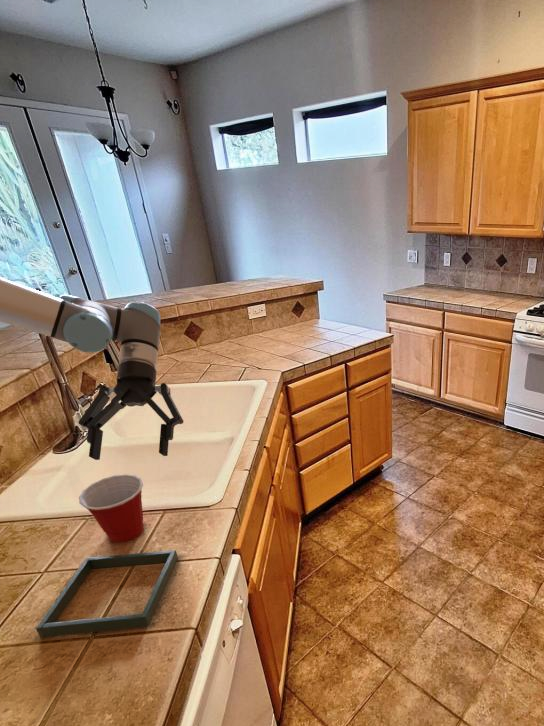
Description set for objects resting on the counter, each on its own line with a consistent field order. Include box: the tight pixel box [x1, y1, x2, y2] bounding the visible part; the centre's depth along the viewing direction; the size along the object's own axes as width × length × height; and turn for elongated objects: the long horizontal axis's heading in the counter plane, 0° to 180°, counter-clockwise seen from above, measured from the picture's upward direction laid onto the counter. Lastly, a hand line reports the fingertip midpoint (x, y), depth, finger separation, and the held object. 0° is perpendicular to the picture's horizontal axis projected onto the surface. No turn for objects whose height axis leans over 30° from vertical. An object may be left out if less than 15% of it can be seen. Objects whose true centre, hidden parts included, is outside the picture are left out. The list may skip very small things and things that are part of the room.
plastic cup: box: [78, 473, 144, 543], centre depth 86 cm, size 11×11×12 cm
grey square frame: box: [35, 549, 179, 638], centre depth 74 cm, size 16×16×3 cm
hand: (129, 456), depth 91 cm, fingers open, 13 cm apart
